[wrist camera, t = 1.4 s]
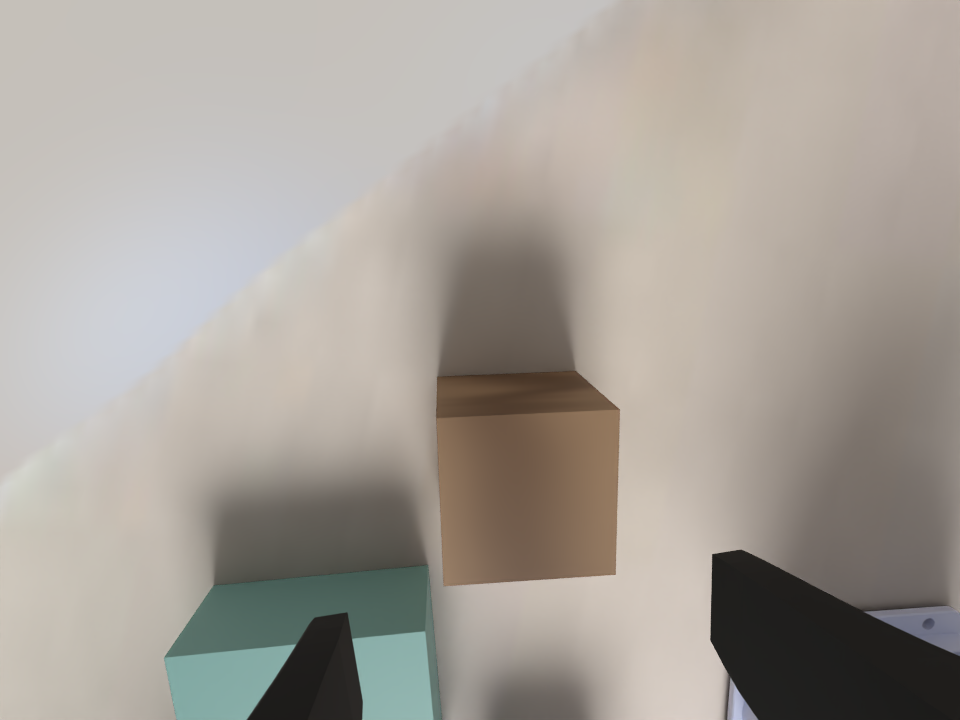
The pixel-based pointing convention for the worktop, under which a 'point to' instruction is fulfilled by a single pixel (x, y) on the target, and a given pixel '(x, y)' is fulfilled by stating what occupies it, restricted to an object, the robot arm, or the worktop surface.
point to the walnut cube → (526, 477)
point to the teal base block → (280, 624)
